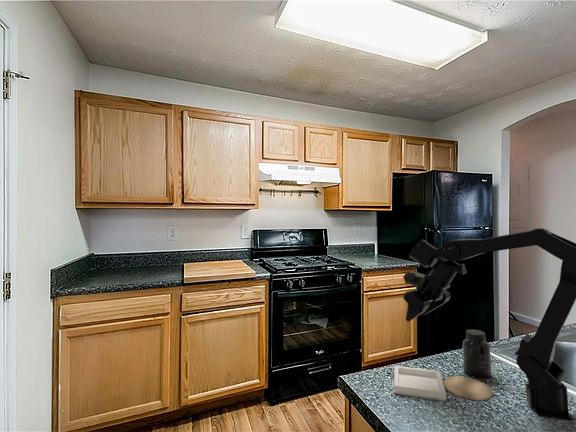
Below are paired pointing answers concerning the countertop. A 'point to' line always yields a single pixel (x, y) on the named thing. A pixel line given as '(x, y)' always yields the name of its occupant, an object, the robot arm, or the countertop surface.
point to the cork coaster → (467, 388)
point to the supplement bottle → (476, 355)
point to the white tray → (419, 383)
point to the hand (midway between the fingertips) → (414, 317)
